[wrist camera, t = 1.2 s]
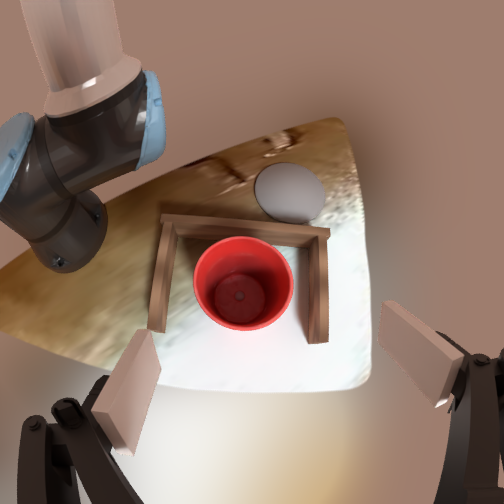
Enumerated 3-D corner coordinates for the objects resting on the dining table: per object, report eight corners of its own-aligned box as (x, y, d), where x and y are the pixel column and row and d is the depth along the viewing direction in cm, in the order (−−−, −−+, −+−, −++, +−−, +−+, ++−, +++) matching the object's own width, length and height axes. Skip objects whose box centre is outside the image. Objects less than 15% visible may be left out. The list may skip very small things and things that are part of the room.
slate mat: (240, 198, 44) (240, 196, 43) (277, 154, 48) (278, 152, 48) (304, 237, 42) (305, 236, 42) (334, 188, 47) (335, 186, 46)
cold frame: (320, 343, 37) (332, 342, 32) (152, 331, 35) (142, 328, 31) (319, 242, 42) (329, 228, 38) (168, 229, 41) (161, 213, 36)
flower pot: (232, 248, 41) (234, 217, 32) (292, 293, 39) (311, 273, 30) (185, 302, 37) (172, 286, 28) (247, 352, 36) (254, 351, 27)
